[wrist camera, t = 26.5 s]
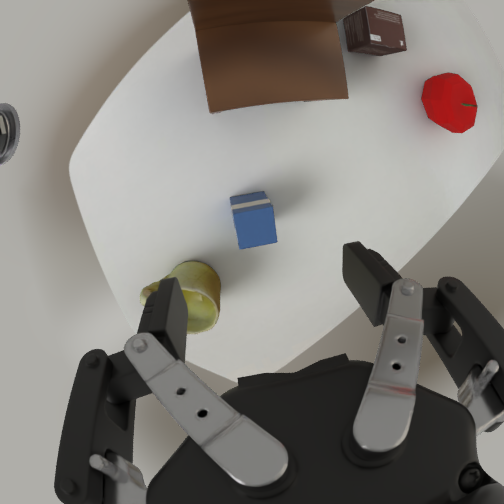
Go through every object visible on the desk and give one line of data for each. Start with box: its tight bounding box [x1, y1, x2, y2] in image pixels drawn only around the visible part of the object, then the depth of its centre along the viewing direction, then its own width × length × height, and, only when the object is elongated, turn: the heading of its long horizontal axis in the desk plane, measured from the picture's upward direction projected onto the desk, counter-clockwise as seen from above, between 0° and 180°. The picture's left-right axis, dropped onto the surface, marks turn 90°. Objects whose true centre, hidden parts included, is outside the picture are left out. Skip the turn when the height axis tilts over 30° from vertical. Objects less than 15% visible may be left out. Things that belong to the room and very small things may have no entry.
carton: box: [230, 191, 277, 249], centre depth 38 cm, size 5×5×7 cm
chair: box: [188, 0, 374, 114], centre depth 23 cm, size 10×14×20 cm
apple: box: [421, 73, 477, 133], centre depth 30 cm, size 11×11×10 cm
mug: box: [140, 261, 221, 334], centre depth 42 cm, size 12×10×10 cm
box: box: [343, 6, 407, 56], centre depth 26 cm, size 6×6×7 cm
